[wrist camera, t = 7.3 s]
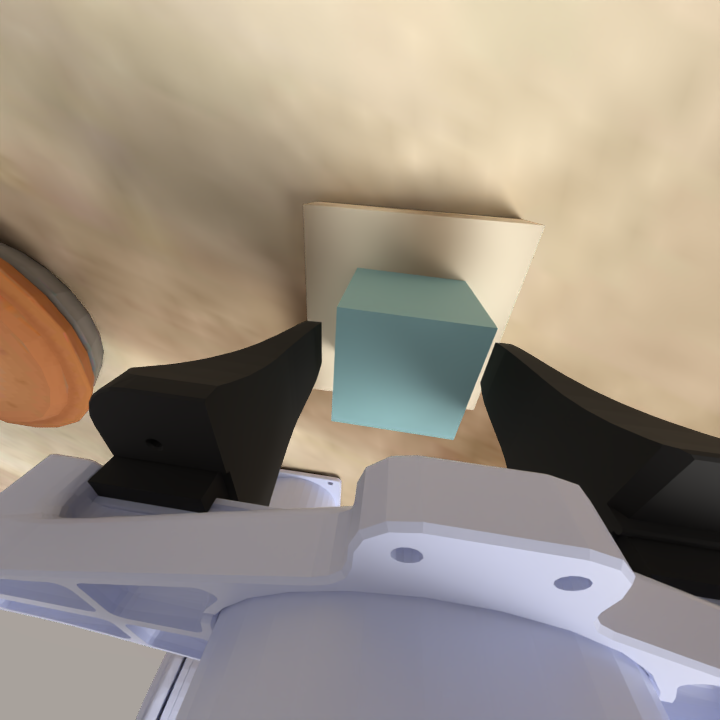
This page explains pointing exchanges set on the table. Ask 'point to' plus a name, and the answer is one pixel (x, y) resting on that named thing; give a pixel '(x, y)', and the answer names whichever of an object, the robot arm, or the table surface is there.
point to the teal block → (408, 352)
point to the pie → (43, 346)
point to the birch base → (412, 260)
